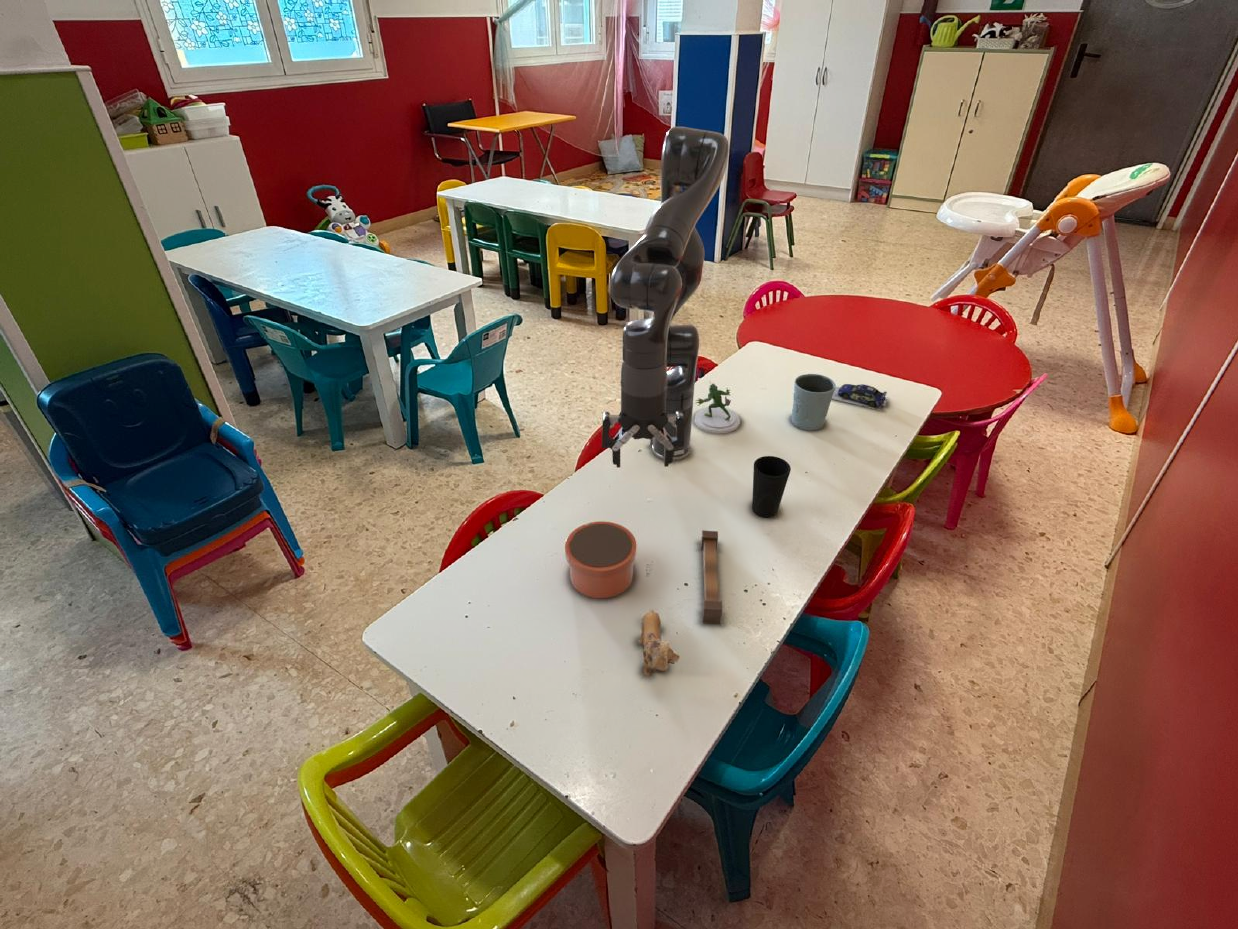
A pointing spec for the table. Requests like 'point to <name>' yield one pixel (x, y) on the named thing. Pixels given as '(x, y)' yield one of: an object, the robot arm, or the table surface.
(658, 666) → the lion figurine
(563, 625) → the table surface
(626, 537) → the terracotta pot
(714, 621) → the oak rail
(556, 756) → the table surface
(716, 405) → the monster figurine
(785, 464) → the cup
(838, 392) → the race car
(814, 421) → the grey planter pot
